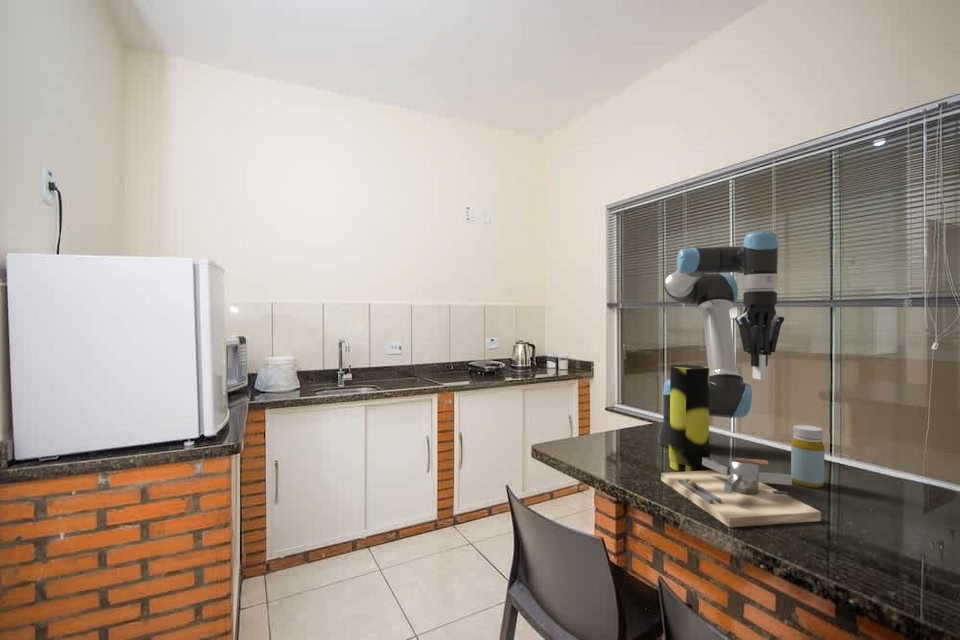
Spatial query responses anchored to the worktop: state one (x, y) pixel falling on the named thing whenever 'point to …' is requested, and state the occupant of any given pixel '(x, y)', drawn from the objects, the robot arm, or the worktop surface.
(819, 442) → the bottle
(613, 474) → the worktop surface
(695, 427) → the container
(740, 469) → the capstan
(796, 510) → the stand
